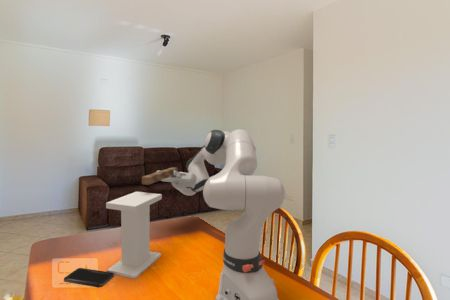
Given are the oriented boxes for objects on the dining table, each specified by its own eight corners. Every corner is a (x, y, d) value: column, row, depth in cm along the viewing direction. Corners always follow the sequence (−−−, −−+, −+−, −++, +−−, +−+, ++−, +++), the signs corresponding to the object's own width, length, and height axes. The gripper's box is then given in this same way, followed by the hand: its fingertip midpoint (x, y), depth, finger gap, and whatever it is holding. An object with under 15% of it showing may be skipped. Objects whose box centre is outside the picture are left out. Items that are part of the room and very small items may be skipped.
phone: (100, 285, 89) (62, 279, 92) (101, 288, 89) (62, 282, 92) (115, 272, 97) (79, 267, 100) (115, 275, 97) (79, 270, 100)
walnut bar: (172, 173, 134) (172, 167, 133) (177, 173, 133) (177, 167, 133) (141, 184, 109) (141, 176, 109) (148, 184, 108) (148, 177, 108)
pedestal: (136, 251, 115) (136, 191, 113) (161, 255, 112) (161, 194, 110) (106, 272, 98) (105, 202, 96) (135, 278, 95) (135, 206, 93)
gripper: (163, 173, 144) (151, 163, 132) (199, 176, 138) (190, 166, 126) (160, 184, 141) (148, 176, 129) (197, 188, 136) (187, 179, 124)
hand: (169, 171), depth 128 cm, fingers closed on walnut bar, 3 cm apart
